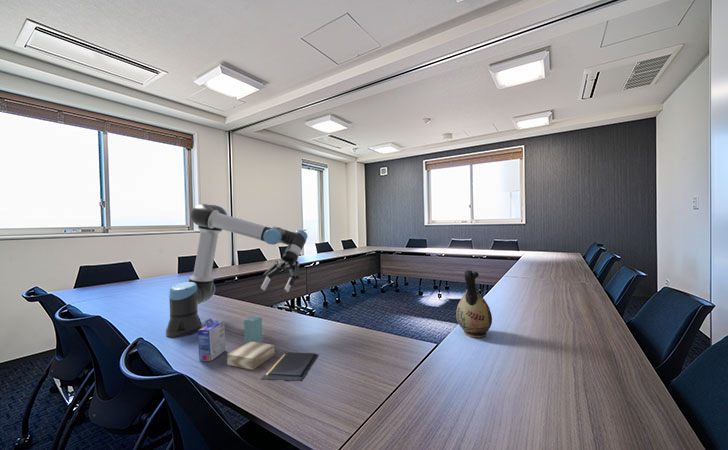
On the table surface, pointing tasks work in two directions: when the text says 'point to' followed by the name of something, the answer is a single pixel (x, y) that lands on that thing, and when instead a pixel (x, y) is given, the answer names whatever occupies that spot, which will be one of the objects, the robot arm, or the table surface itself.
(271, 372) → the wallet
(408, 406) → the table surface
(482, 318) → the ceramic jug
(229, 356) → the birch riser
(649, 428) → the table surface
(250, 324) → the teal block
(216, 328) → the ink cartridge box
